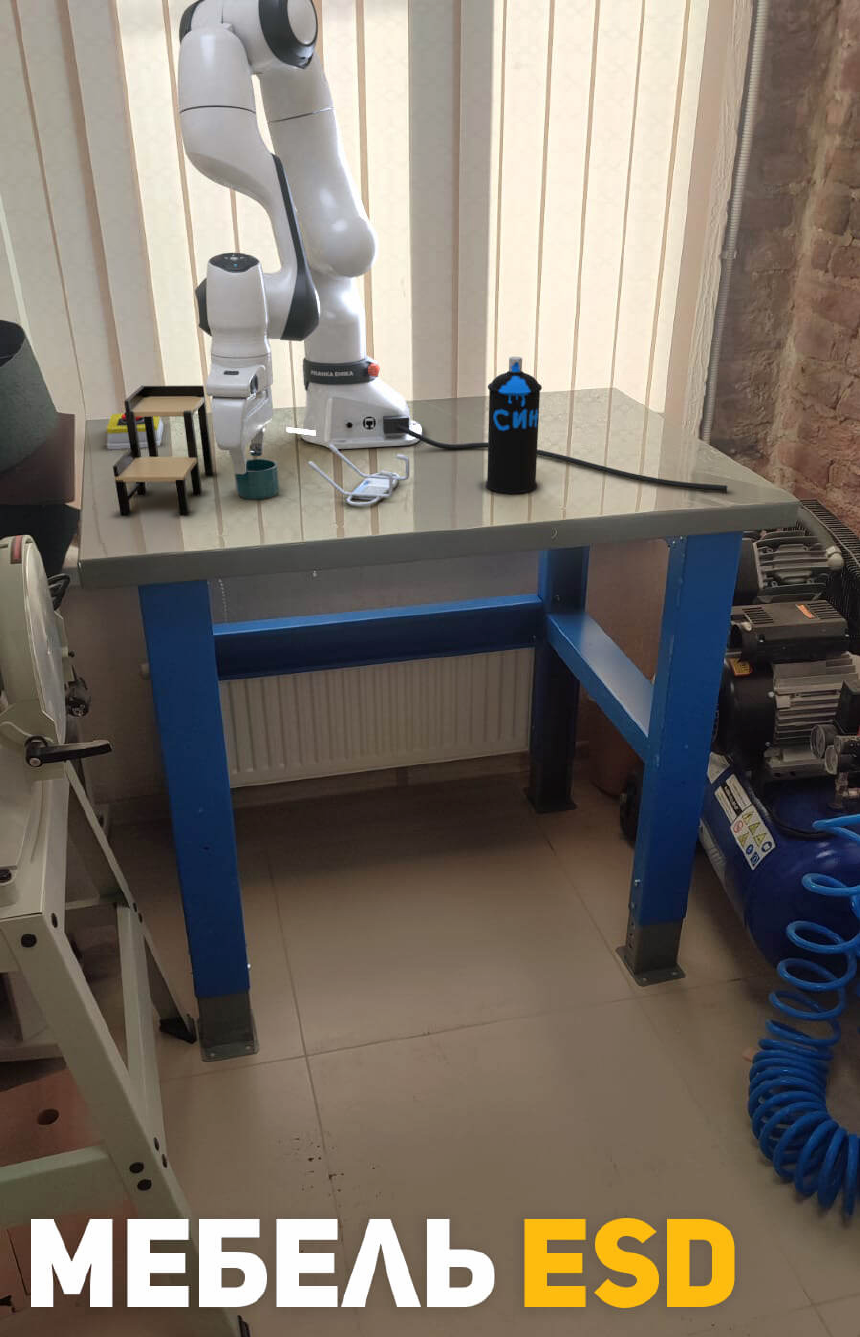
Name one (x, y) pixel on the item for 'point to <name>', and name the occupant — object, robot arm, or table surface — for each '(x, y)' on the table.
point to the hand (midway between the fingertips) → (249, 463)
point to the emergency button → (119, 432)
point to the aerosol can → (513, 431)
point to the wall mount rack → (367, 482)
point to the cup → (258, 480)
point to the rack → (154, 467)
